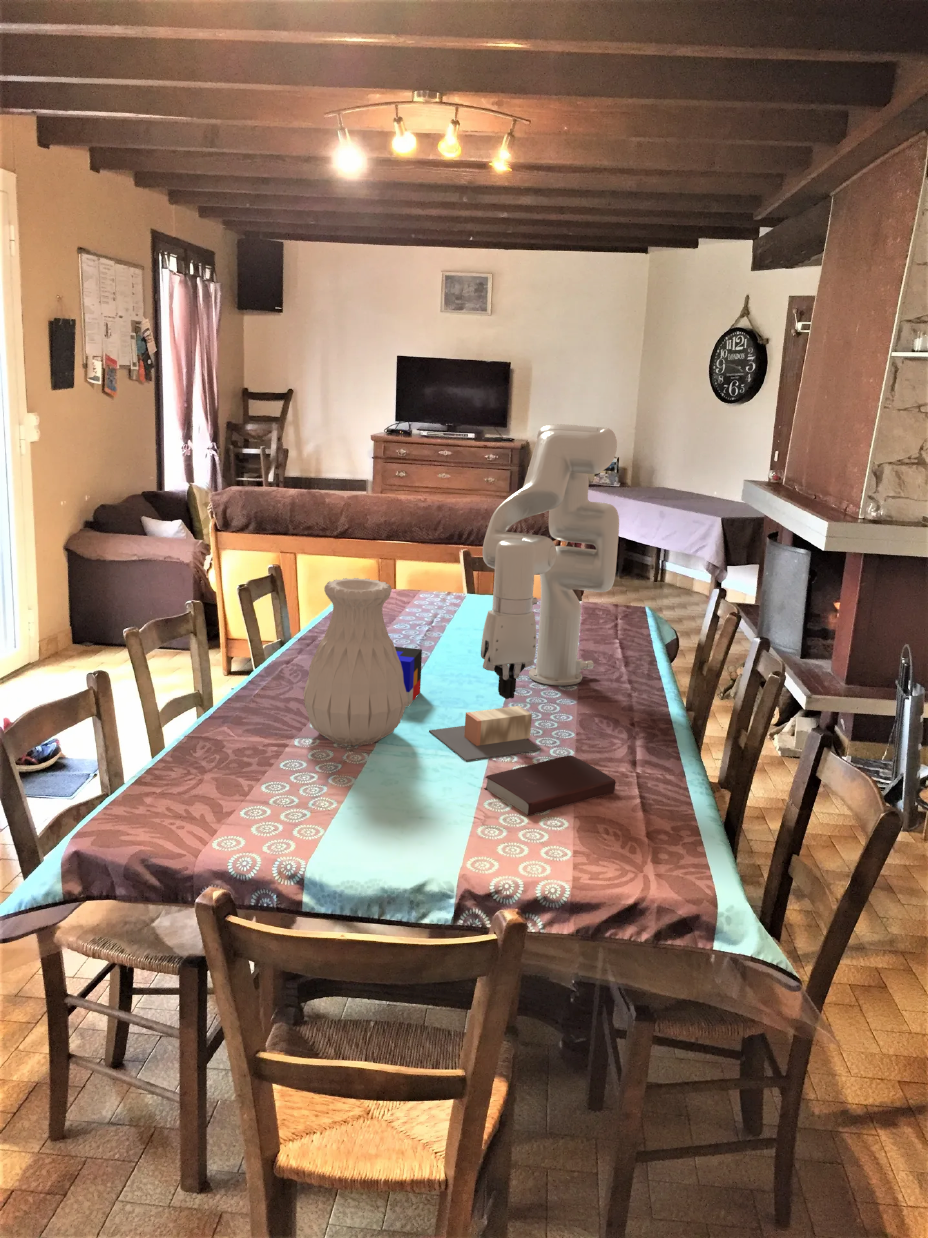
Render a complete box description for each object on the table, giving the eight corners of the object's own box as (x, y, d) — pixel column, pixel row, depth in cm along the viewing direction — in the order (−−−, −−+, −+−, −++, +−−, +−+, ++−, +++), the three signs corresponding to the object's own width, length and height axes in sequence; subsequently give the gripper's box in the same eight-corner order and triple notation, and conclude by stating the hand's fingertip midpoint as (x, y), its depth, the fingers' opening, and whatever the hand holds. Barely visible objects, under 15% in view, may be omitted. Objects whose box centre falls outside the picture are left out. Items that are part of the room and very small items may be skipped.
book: (615, 795, 168) (617, 778, 167) (528, 819, 157) (529, 800, 156) (568, 770, 178) (569, 753, 177) (483, 791, 167) (484, 773, 166)
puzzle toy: (408, 707, 206) (410, 661, 203) (363, 701, 208) (364, 656, 205) (420, 692, 215) (422, 649, 213) (376, 687, 217) (378, 644, 215)
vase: (427, 739, 188) (434, 588, 180) (345, 764, 174) (348, 601, 167) (363, 711, 202) (366, 569, 194) (281, 731, 188) (282, 580, 180)
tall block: (519, 705, 194) (465, 712, 188) (531, 714, 189) (477, 721, 184) (517, 729, 195) (464, 736, 189) (530, 738, 190) (476, 745, 185)
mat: (499, 722, 199) (499, 721, 199) (540, 750, 185) (540, 748, 185) (428, 731, 192) (429, 730, 192) (465, 761, 178) (465, 759, 178)
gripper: (535, 598, 191) (529, 687, 195) (468, 602, 184) (463, 694, 188) (556, 607, 184) (549, 698, 189) (487, 612, 177) (481, 707, 182)
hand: (506, 696), depth 189 cm, fingers closed
